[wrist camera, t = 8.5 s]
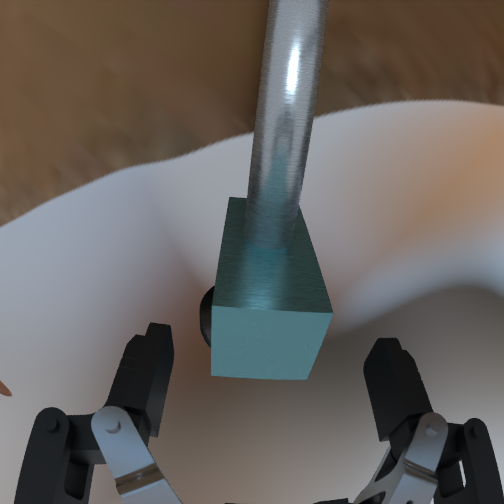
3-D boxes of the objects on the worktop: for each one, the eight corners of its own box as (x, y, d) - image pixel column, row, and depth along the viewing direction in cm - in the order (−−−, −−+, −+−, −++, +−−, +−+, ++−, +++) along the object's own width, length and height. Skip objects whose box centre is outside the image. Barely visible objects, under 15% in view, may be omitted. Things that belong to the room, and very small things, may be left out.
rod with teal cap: (351, -49, 9) (426, -119, 1) (298, 277, 20) (320, 394, 13) (239, -67, 8) (229, -162, 1) (209, 270, 20) (188, 388, 12)
